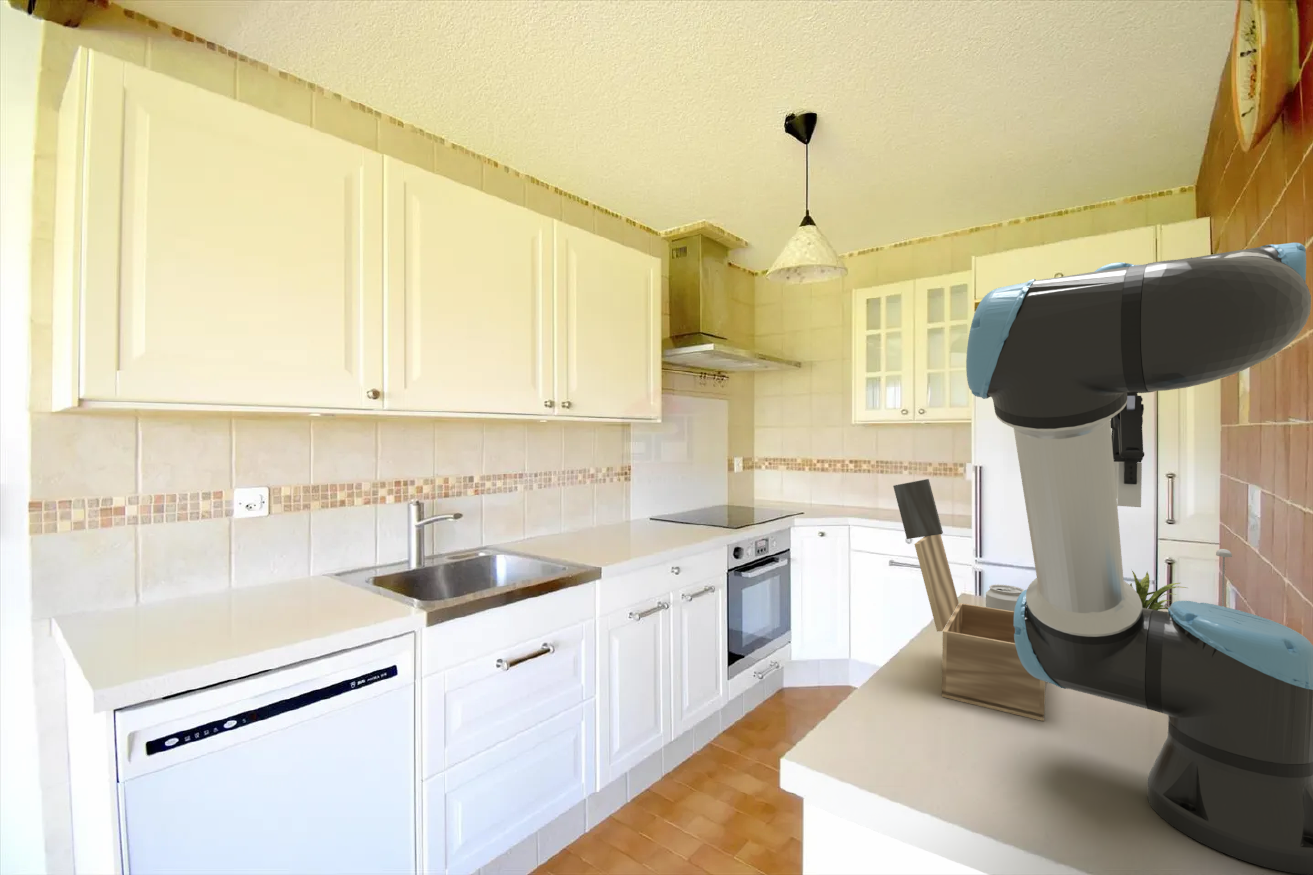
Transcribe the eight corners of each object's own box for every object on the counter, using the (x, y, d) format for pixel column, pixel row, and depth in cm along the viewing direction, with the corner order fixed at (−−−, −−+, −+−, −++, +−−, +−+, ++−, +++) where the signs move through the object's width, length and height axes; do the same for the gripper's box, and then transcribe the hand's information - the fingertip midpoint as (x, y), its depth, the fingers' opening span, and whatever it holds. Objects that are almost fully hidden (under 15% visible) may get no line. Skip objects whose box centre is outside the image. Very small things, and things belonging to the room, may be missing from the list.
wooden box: (1043, 721, 88) (1045, 649, 88) (941, 696, 96) (942, 631, 96) (1045, 676, 105) (1046, 616, 105) (958, 658, 113) (959, 602, 113)
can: (977, 638, 124) (978, 582, 124) (1013, 639, 124) (1015, 583, 124) (997, 651, 117) (998, 591, 117) (1035, 652, 116) (1036, 592, 116)
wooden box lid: (917, 482, 98) (881, 489, 102) (956, 630, 95) (917, 632, 98) (937, 476, 115) (905, 482, 118) (970, 602, 112) (937, 604, 115)
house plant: (1204, 673, 107) (1205, 584, 107) (1110, 660, 113) (1111, 575, 113) (1175, 648, 120) (1176, 568, 120) (1092, 637, 126) (1094, 561, 126)
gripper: (1171, 357, 80) (1168, 512, 80) (1147, 373, 100) (1145, 497, 101) (1102, 360, 84) (1099, 508, 84) (1092, 375, 105) (1090, 494, 105)
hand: (1124, 502), depth 92 cm, fingers open, 13 cm apart
